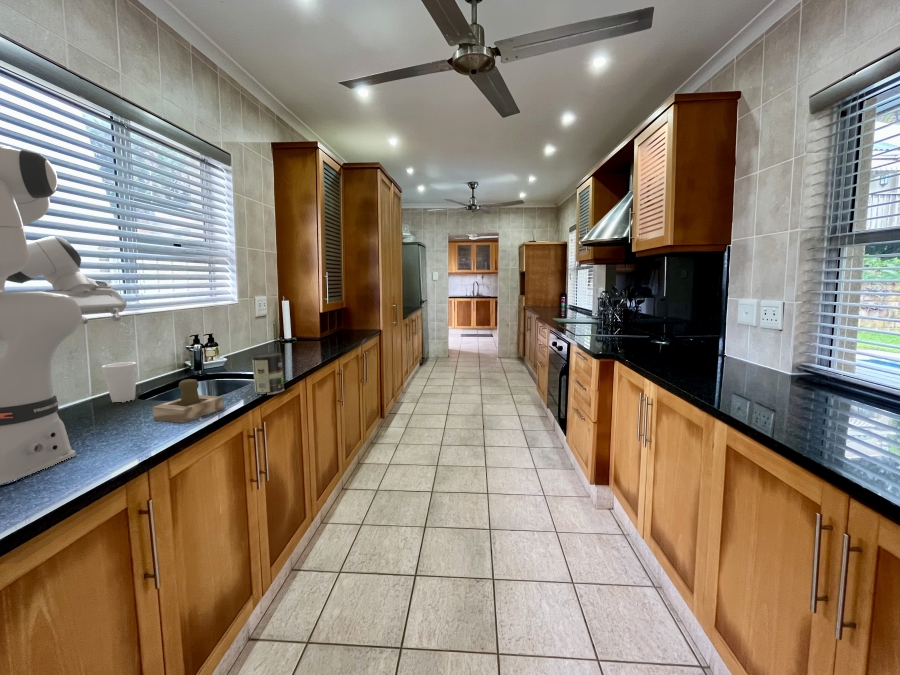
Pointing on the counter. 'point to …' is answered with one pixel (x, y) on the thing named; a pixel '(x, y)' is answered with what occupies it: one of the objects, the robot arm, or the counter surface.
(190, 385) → the cork
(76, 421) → the counter surface
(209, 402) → the block
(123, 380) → the foam cup
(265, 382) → the coffee can
